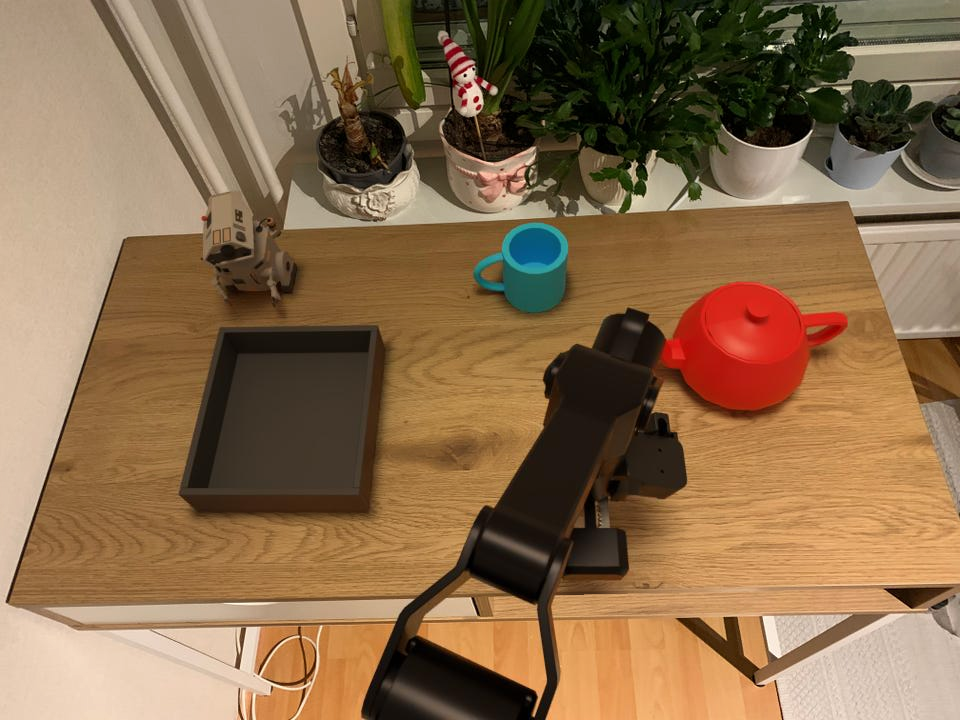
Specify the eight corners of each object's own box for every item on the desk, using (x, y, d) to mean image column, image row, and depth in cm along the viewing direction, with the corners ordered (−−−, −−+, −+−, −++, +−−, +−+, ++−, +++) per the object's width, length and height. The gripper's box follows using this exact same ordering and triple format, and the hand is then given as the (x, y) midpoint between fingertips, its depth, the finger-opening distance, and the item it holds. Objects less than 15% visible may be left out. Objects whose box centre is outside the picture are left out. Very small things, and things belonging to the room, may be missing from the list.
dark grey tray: (368, 512, 81) (359, 494, 76) (198, 512, 82) (178, 494, 78) (385, 349, 92) (378, 324, 88) (235, 350, 93) (219, 326, 89)
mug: (560, 260, 98) (562, 219, 91) (569, 309, 94) (573, 270, 87) (472, 269, 98) (468, 229, 91) (477, 319, 94) (474, 281, 87)
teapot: (804, 301, 93) (840, 239, 82) (849, 408, 85) (895, 354, 74) (611, 324, 93) (622, 264, 82) (638, 434, 84) (654, 383, 74)
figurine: (218, 328, 95) (171, 255, 83) (237, 259, 101) (196, 182, 89) (286, 328, 95) (249, 255, 82) (301, 259, 101) (268, 181, 88)
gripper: (704, 556, 56) (671, 598, 70) (676, 348, 65) (652, 421, 79) (559, 555, 57) (554, 597, 70) (552, 350, 66) (549, 422, 80)
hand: (581, 504), depth 75 cm, fingers open, 9 cm apart
